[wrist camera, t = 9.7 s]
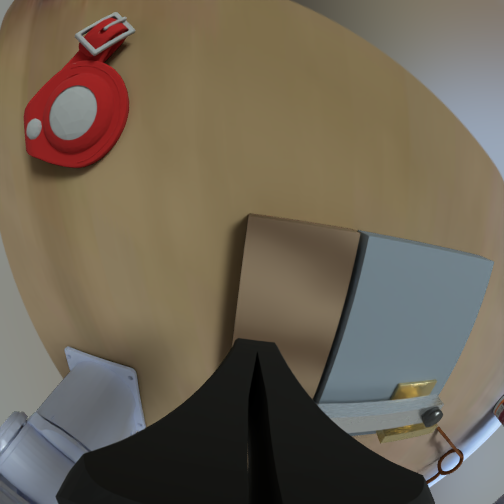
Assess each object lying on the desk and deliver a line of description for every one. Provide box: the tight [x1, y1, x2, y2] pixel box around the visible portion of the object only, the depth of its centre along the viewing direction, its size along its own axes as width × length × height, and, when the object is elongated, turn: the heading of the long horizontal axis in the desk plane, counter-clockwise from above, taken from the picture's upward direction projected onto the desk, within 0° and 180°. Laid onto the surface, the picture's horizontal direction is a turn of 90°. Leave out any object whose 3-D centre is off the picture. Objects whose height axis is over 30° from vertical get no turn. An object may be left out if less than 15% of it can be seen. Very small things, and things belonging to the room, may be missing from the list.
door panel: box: [313, 230, 494, 436], centre depth 18 cm, size 18×13×2 cm
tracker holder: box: [24, 12, 135, 168], centre depth 14 cm, size 12×4×10 cm
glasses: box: [426, 427, 463, 484], centre depth 22 cm, size 13×13×5 cm
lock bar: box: [316, 394, 444, 433], centre depth 16 cm, size 15×3×2 cm, turn 83°
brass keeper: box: [376, 379, 438, 443], centre depth 17 cm, size 4×6×3 cm
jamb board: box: [232, 213, 360, 400], centre depth 18 cm, size 18×7×3 cm, turn 172°
